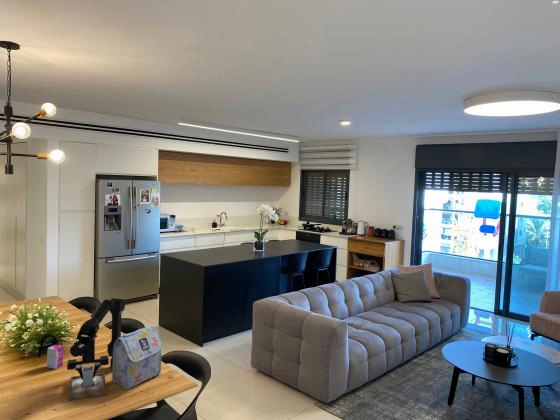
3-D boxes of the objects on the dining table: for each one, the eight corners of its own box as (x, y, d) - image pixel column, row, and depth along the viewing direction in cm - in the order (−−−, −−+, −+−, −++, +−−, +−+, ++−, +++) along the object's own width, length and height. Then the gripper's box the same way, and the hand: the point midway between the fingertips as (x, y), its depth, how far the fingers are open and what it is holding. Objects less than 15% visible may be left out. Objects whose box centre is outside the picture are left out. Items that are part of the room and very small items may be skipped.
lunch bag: (129, 392, 205) (131, 341, 204) (108, 382, 214) (110, 333, 213) (164, 376, 224) (166, 328, 223) (144, 367, 233) (145, 321, 232)
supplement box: (55, 369, 225) (56, 349, 225) (46, 368, 226) (46, 348, 226) (63, 365, 231) (63, 345, 230) (54, 364, 232) (54, 344, 231)
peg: (92, 381, 209) (93, 365, 209) (92, 385, 205) (93, 369, 205) (83, 382, 208) (83, 367, 207) (82, 386, 204) (83, 371, 203)
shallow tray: (104, 378, 218) (104, 372, 218) (105, 395, 202) (105, 388, 202) (70, 383, 212) (70, 376, 211) (68, 400, 195) (68, 393, 195)
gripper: (108, 340, 217) (107, 369, 218) (68, 344, 209) (68, 374, 210) (108, 348, 206) (108, 378, 207) (67, 353, 199) (66, 384, 200)
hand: (87, 378), depth 206 cm, fingers closed on peg, 4 cm apart
